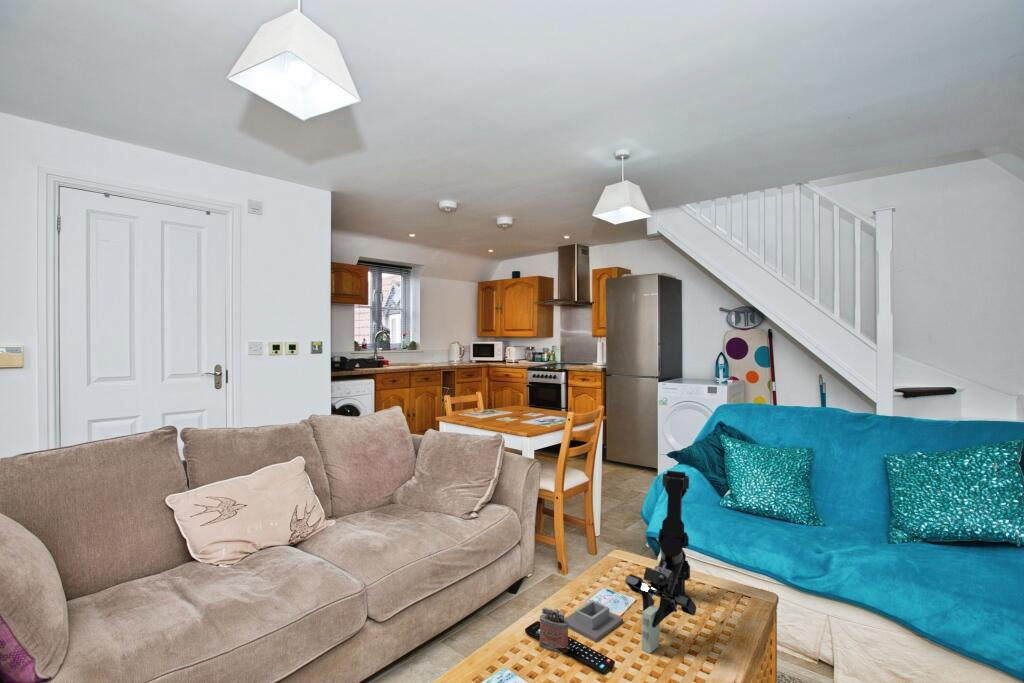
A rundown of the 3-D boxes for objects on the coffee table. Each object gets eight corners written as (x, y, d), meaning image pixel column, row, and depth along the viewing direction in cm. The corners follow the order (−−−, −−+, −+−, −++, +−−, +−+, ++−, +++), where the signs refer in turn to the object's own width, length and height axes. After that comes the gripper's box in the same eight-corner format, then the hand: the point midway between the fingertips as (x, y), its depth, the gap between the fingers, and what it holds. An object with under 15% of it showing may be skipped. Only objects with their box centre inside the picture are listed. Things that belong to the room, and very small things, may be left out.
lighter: (570, 648, 131) (570, 610, 131) (566, 655, 128) (566, 616, 128) (541, 640, 134) (542, 603, 134) (537, 647, 131) (537, 609, 131)
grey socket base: (623, 622, 144) (623, 608, 144) (595, 642, 134) (595, 627, 134) (589, 606, 152) (589, 593, 152) (560, 624, 142) (561, 610, 142)
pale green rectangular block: (659, 645, 132) (659, 608, 132) (649, 654, 128) (649, 616, 128) (651, 641, 134) (651, 604, 134) (640, 650, 130) (641, 612, 130)
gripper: (628, 545, 141) (606, 597, 133) (692, 566, 128) (672, 626, 120) (642, 564, 146) (622, 615, 139) (704, 586, 133) (685, 644, 125)
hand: (648, 624), depth 130 cm, fingers closed on pale green rectangular block, 2 cm apart
